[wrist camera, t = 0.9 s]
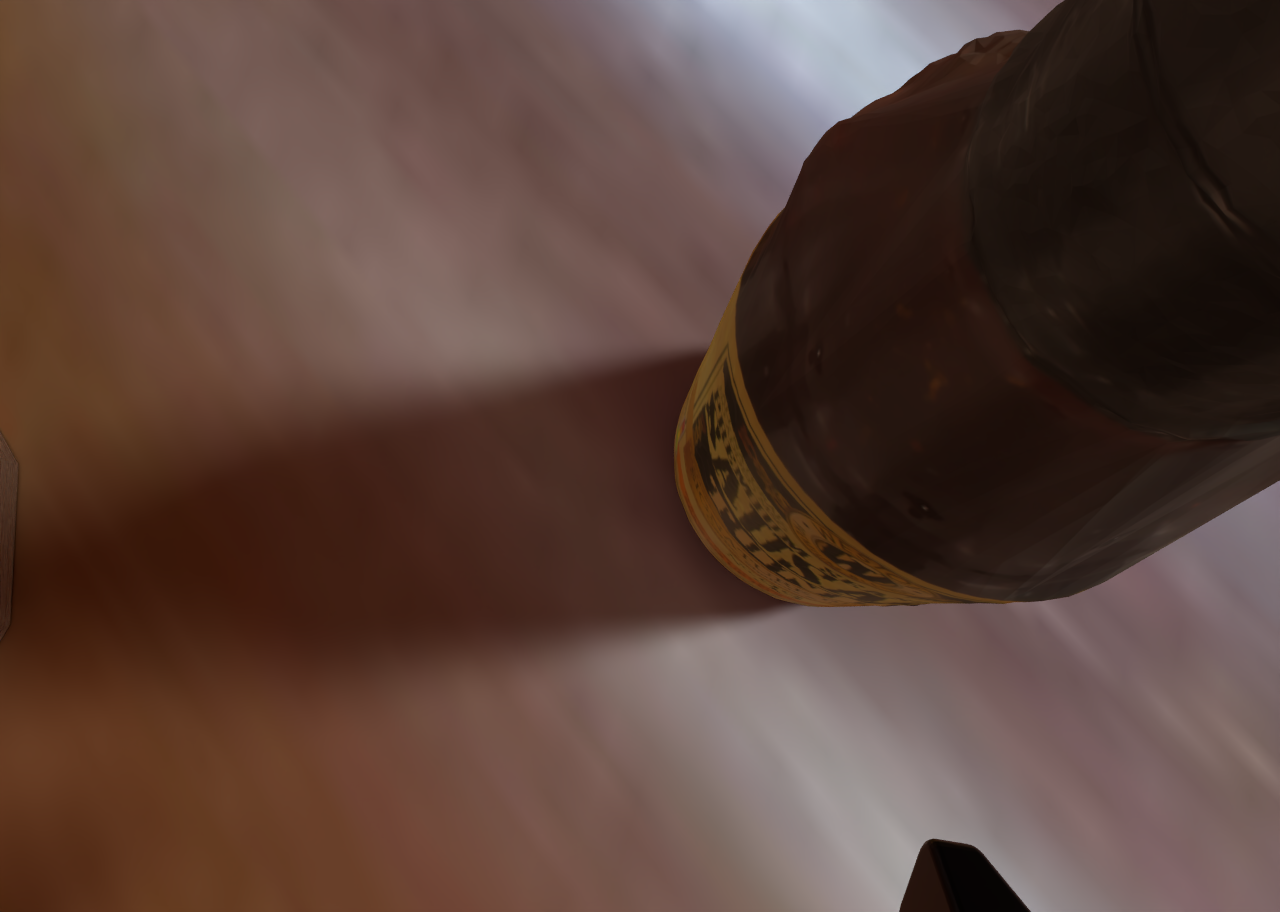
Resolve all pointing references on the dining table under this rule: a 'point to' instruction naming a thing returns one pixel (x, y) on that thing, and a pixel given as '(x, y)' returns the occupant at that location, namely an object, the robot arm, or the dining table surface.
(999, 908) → the robot arm
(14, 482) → the white faceted ring
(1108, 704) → the dining table surface
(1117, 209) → the sauce bottle
